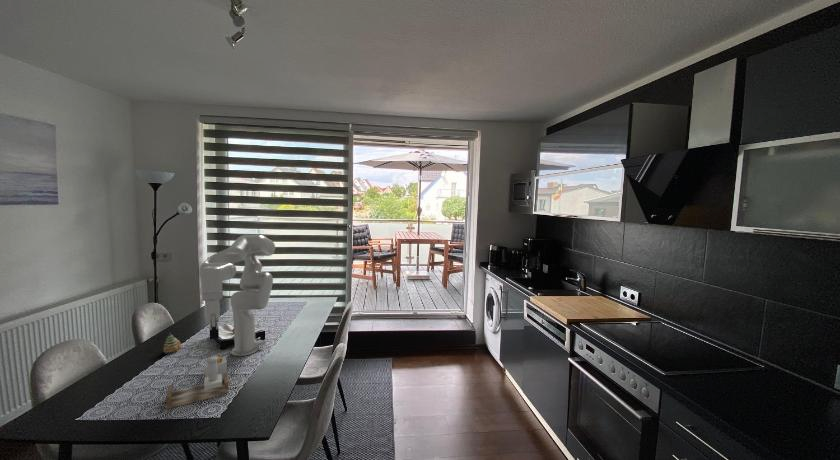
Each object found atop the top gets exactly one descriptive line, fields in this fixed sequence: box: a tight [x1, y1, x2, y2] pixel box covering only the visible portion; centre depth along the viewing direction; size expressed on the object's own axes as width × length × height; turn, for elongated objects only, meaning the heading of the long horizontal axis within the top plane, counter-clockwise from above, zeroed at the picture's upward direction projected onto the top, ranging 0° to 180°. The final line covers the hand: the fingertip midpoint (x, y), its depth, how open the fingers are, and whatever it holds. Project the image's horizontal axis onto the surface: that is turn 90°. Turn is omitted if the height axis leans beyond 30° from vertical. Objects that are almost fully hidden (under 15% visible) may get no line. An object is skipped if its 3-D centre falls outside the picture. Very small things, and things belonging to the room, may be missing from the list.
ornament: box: [163, 332, 182, 355], centre depth 169 cm, size 8×6×10 cm
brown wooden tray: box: [165, 372, 229, 410], centre depth 131 cm, size 20×9×4 cm, turn 122°
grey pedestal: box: [203, 355, 222, 390], centre depth 133 cm, size 6×7×11 cm
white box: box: [204, 355, 228, 379], centre depth 142 cm, size 8×7×8 cm
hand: (214, 336), depth 141 cm, fingers closed
